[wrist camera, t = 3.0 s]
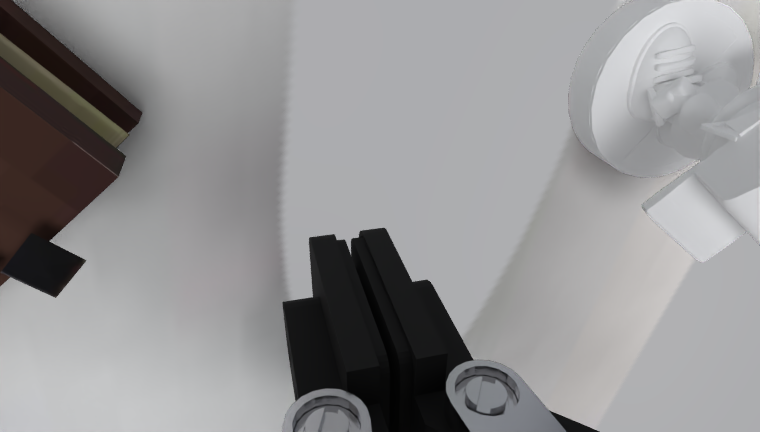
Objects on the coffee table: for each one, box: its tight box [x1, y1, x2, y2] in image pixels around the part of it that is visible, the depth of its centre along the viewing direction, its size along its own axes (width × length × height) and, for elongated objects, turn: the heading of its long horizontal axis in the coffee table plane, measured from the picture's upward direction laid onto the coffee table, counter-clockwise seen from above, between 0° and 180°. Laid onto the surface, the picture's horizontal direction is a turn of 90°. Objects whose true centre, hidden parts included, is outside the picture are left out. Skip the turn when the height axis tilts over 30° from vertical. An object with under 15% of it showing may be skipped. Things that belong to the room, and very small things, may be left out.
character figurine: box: [568, 0, 760, 263], centre depth 23 cm, size 9×10×12 cm
